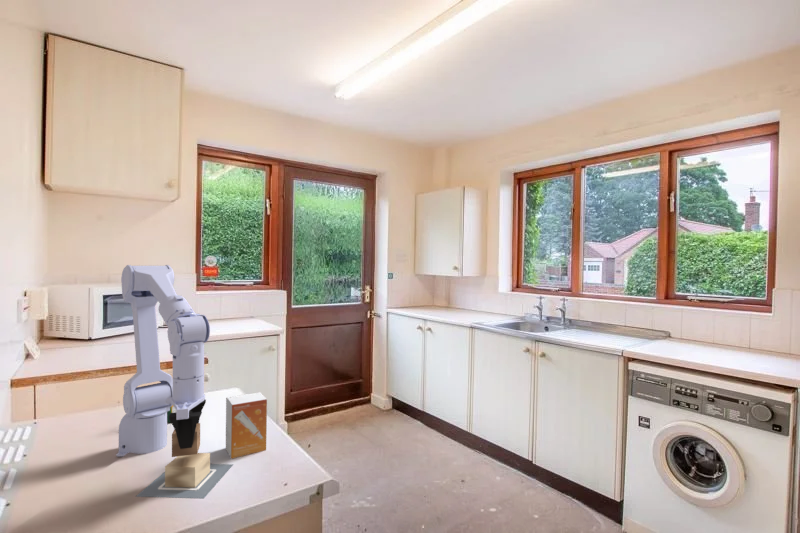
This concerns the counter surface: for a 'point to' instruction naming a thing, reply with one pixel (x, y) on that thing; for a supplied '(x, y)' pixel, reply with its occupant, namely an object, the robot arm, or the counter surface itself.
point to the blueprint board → (199, 491)
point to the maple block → (187, 470)
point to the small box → (246, 424)
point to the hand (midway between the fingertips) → (188, 442)
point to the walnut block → (186, 451)
